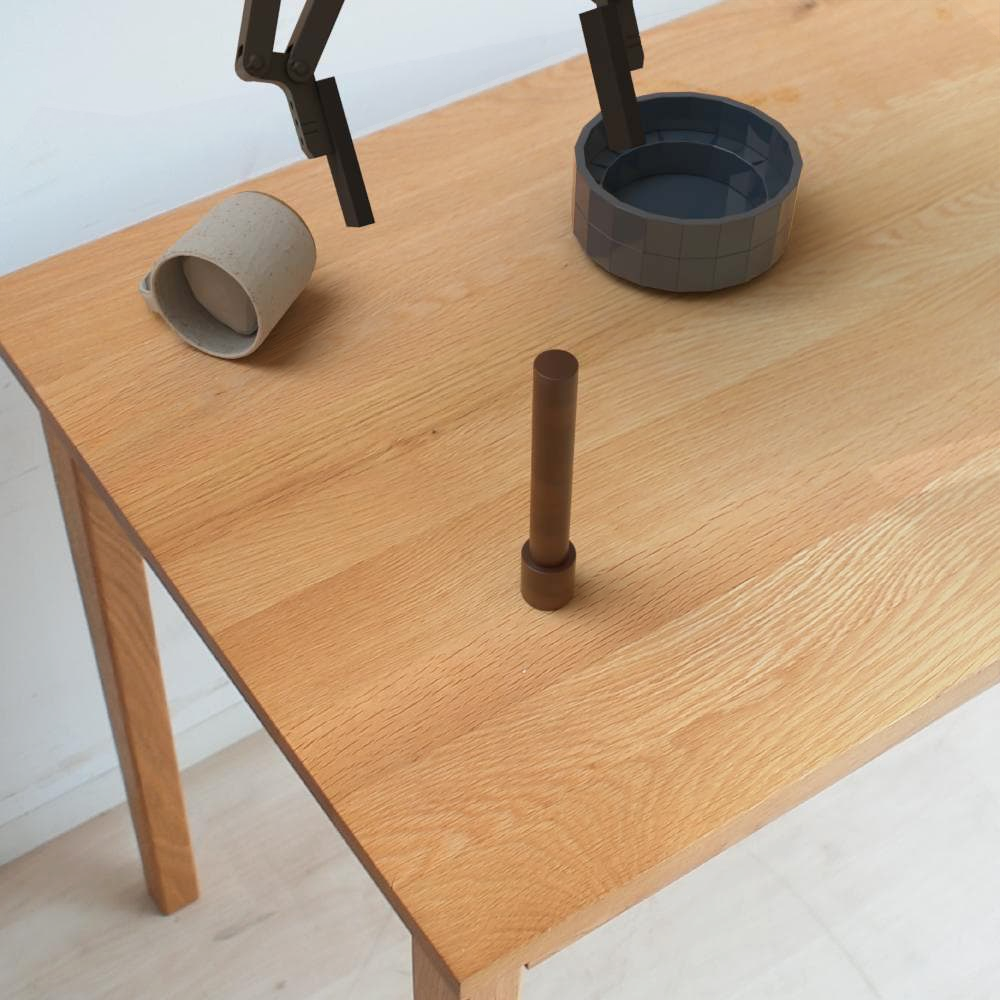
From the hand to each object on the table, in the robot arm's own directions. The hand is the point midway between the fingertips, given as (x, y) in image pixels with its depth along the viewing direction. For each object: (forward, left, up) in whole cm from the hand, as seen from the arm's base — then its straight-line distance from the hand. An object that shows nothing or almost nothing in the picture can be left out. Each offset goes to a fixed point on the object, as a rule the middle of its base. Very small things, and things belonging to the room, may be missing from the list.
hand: (497, 186), depth 67 cm
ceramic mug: (+12, -18, -19) cm, 28 cm away
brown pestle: (+1, +9, -19) cm, 21 cm away
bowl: (-18, -16, -19) cm, 31 cm away
